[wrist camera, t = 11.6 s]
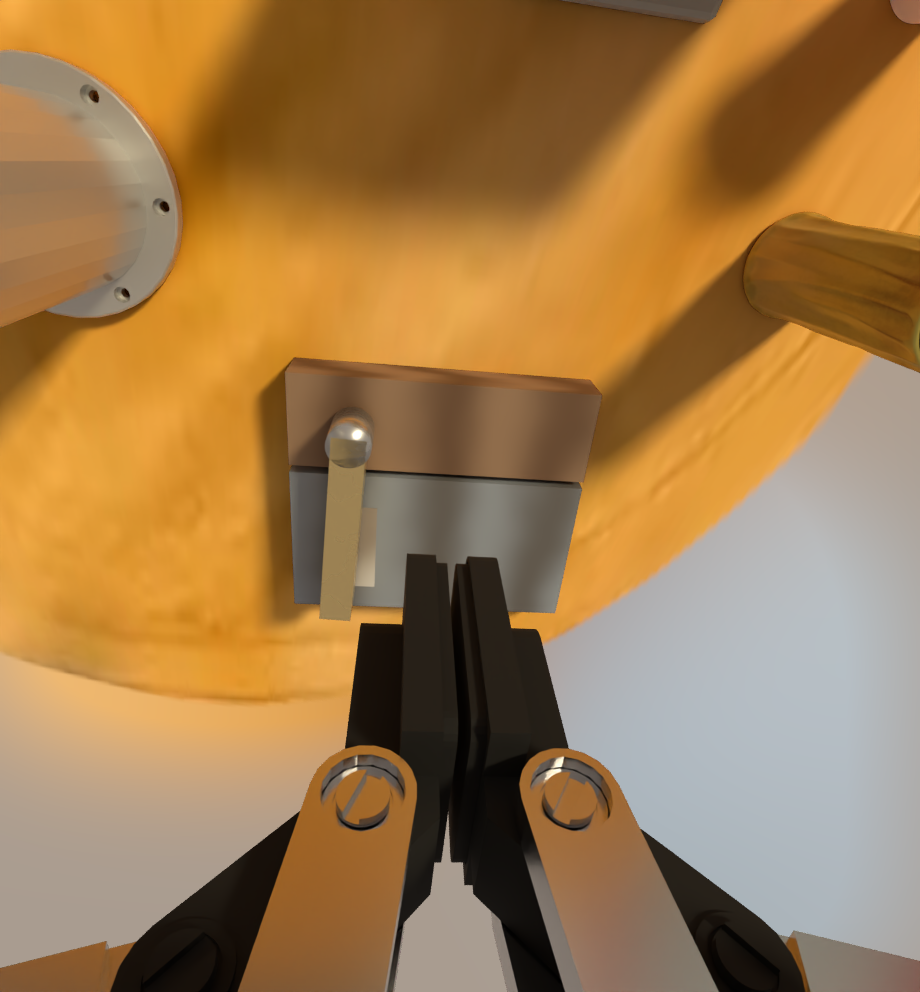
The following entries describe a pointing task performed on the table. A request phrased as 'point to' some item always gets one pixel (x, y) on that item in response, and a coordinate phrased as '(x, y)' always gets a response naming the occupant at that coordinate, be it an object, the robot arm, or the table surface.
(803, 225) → the vase
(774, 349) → the table surface
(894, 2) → the smoothie
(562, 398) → the door mockup
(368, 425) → the latch bar
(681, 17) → the toy computer monitor
